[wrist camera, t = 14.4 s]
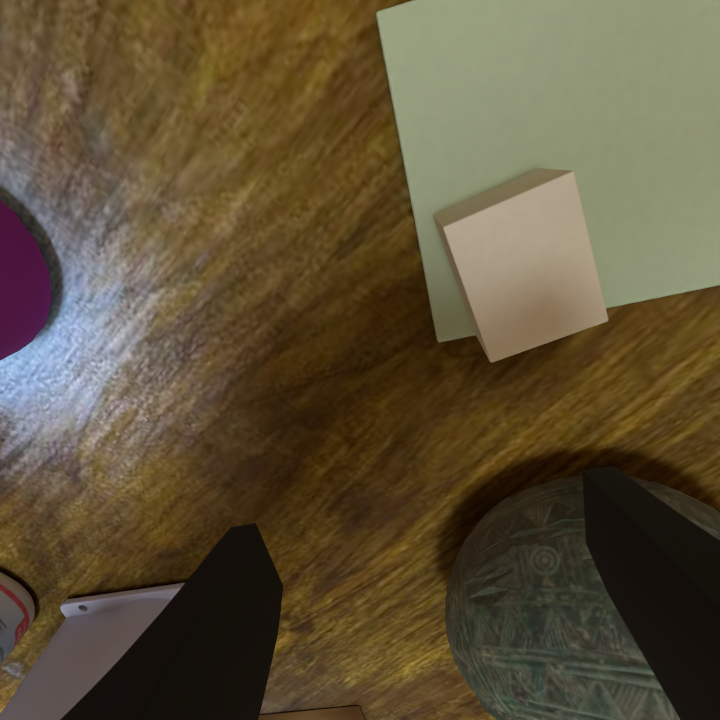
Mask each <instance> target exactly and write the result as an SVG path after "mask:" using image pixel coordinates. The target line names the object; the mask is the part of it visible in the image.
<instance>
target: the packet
mask: <svg viewBox="0 0 720 720" xmlns="http://www.w3.org/2000/svg"><path fill="white" fill-rule="evenodd" d="M433 219H434V221H435V224H436V227H437V230H438V233H439V235H440V238H441V241H442V244H443V246H444V249H445V252H446V255H447V258H448V260H449V263H450V266H451V269H452V271H453V274H454V277H455V280H456V283H457V285H458V288H459V291H460V294H461V296H462V299H463V302H464V305H465V308H466V310H467V313H468V316H469V319H470V321H471V324H472V327H473V330H474V332H475V334H476V336H477V338H478V340H479V342H480V344H481V346H482V348H483V350H484V351H485V353H486V355H487V357H488V359H489V361H490V362H491V363H493V362H495V361H498V360H501V359H504V358H507V357H509V356H512V355H515V354H518V353H521V352H523V351H526V350H529V349H532V348H535V347H537V346H540V345H543V344H546V343H548V342H551V341H554V340H557V339H560V338H562V337H565V336H568V335H571V334H574V333H576V332H579V331H582V330H585V329H587V328H590V327H593V326H596V325H599V324H601V323H604V322H607V321H608V316H607V312H606V307H605V303H604V299H603V294H602V290H601V286H600V281H599V277H598V273H597V268H596V264H595V260H594V256H593V251H592V247H591V243H590V238H589V234H588V230H587V225H586V221H585V217H584V212H583V208H582V204H581V199H580V195H579V191H578V186H577V182H576V178H575V173H574V171H569V170H557V169H544V168H539V169H537V170H535V171H533V172H530V173H528V174H526V175H523V176H521V177H519V178H517V179H514V180H512V181H510V182H508V183H505V184H503V185H501V186H498V187H496V188H494V189H492V190H489V191H487V192H485V193H482V194H480V195H478V196H476V197H473V198H471V199H469V200H467V201H464V202H462V203H460V204H457V205H455V206H453V207H451V208H448V209H446V210H444V211H442V212H439V213H437V214H435V215H433Z"/></svg>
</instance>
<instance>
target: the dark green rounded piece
mask: <svg viewBox="0 0 720 720" xmlns="http://www.w3.org/2000/svg"><path fill="white" fill-rule="evenodd" d="M628 477H630V476H628ZM630 478H631V479H632V480H634V481H635V482H636V483H638V484H639V485H641V486H642V487H643V488H645V489H646V490H648V491H649V492H650V493H652V494H653V495H655V496H656V497H657V498H659V499H660V500H662V501H663V502H664V503H666V504H667V505H669V506H670V507H672V508H673V509H674V510H676V511H677V512H679V513H680V514H682V515H683V516H684V517H686V518H687V519H689V520H690V521H692V522H693V523H695V524H696V525H698V526H699V527H701V528H702V529H704V530H705V531H707V532H708V533H710V534H711V535H713V536H714V537H716V538H717V539H719V540H720V512H719V511H717V510H716V509H715V508H713V507H711V506H709V505H707V504H705V503H703V502H701V501H699V500H697V499H695V498H693V497H690V496H688V495H687V494H685V493H683V492H681V491H679V490H676V489H673V488H670V487H667V486H665V485H663V484H660V483H656V482H651V481H647V480H643V479H639V478H636V477H630ZM445 623H446V629H447V635H448V641H449V644H450V648H451V651H452V655H453V658H454V660H455V662H456V664H457V666H458V668H459V670H460V672H461V674H462V675H463V677H464V679H465V680H466V682H467V683H468V684H469V686H470V687H471V689H472V690H473V691H474V692H475V694H476V696H477V697H478V699H479V701H480V702H481V704H482V706H483V707H484V709H485V711H487V712H488V713H489V714H491V715H492V716H493V717H495V718H496V719H498V720H680V718H679V717H678V715H677V713H676V711H675V709H674V708H673V706H672V704H671V703H670V701H669V699H668V697H667V696H666V694H665V692H664V690H663V689H662V687H661V685H660V683H659V682H658V680H657V678H656V676H655V675H654V673H653V671H652V669H651V668H650V666H649V664H648V663H647V661H646V659H645V657H644V656H643V654H642V652H641V650H640V649H639V647H638V645H637V643H636V642H635V640H634V638H633V636H632V635H631V633H630V631H629V629H628V628H627V626H626V624H625V622H624V621H623V619H622V617H621V615H620V614H619V612H618V610H617V608H616V607H615V605H614V603H613V601H612V600H611V598H610V596H609V594H608V592H607V590H606V588H605V586H604V583H603V581H602V579H601V577H600V575H599V572H598V570H597V568H596V566H595V563H594V561H593V558H592V556H591V554H590V551H589V549H588V547H587V544H586V534H585V516H584V497H583V478H582V475H581V476H571V477H565V478H559V479H556V480H553V481H549V482H546V483H542V484H538V485H534V486H532V487H530V488H527V489H524V490H522V491H520V492H518V493H516V494H514V495H512V496H510V497H508V498H505V499H503V500H502V501H500V502H499V503H498V504H497V505H495V506H494V507H493V508H492V509H490V510H489V511H488V512H487V513H486V514H485V515H484V516H483V518H482V519H481V520H480V521H479V523H478V524H477V525H476V527H475V528H474V529H473V530H472V532H471V533H470V534H469V535H468V536H467V538H466V539H465V540H464V543H463V545H462V548H461V550H460V551H459V553H458V554H457V556H456V559H455V562H454V566H453V569H452V572H451V576H450V580H449V584H448V588H447V595H446V609H445Z"/></svg>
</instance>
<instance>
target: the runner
mask: <svg viewBox="0 0 720 720" xmlns="http://www.w3.org/2000/svg"><path fill="white" fill-rule="evenodd" d="M376 19H377V25H378V30H379V35H380V41H381V46H382V51H383V57H384V62H385V67H386V73H387V78H388V83H389V89H390V94H391V99H392V105H393V110H394V115H395V121H396V126H397V131H398V137H399V142H400V147H401V153H402V158H403V163H404V169H405V174H406V179H407V185H408V190H409V195H410V201H411V206H412V211H413V217H414V222H415V227H416V233H417V238H418V243H419V248H420V254H421V259H422V264H423V270H424V275H425V280H426V286H427V291H428V296H429V302H430V307H431V312H432V318H433V323H434V328H435V334H436V339H437V342H438V343H440V342H445V341H449V340H454V339H459V338H464V337H469V336H474V335H476V334H475V332H474V330H473V327H472V324H471V321H470V319H469V316H468V313H467V310H466V308H465V305H464V302H463V299H462V296H461V294H460V291H459V288H458V285H457V283H456V280H455V277H454V274H453V271H452V269H451V266H450V263H449V260H448V258H447V255H446V252H445V249H444V246H443V244H442V241H441V238H440V235H439V233H438V230H437V227H436V224H435V221H434V219H433V215H435V214H437V213H439V212H442V211H444V210H446V209H448V208H451V207H453V206H455V205H457V204H460V203H462V202H464V201H467V200H469V199H471V198H473V197H476V196H478V195H480V194H482V193H485V192H487V191H489V190H492V189H494V188H496V187H498V186H501V185H503V184H505V183H508V182H510V181H512V180H514V179H517V178H519V177H521V176H523V175H526V174H528V173H530V172H533V171H535V170H537V169H539V168H544V169H557V170H569V171H574V173H575V178H576V182H577V186H578V191H579V195H580V199H581V204H582V208H583V212H584V217H585V221H586V225H587V230H588V234H589V238H590V243H591V247H592V251H593V256H594V260H595V264H596V268H597V273H598V277H599V281H600V286H601V290H602V294H603V299H604V303H605V307H606V308H610V307H615V306H620V305H625V304H630V303H635V302H640V301H644V300H649V299H654V298H659V297H664V296H669V295H674V294H679V293H683V292H688V291H693V290H698V289H703V288H708V287H713V286H718V285H720V0H412V1H409V2H406V3H403V4H400V5H396V6H393V7H390V8H387V9H384V10H380V11H377V12H376Z"/></svg>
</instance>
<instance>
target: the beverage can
mask: <svg viewBox="0 0 720 720" xmlns="http://www.w3.org/2000/svg"><path fill="white" fill-rule="evenodd" d="M51 301H52V296H51V287H50V277H49V271H48V268H47V266H46V263H45V261H44V259H43V256H42V254H41V251H40V249H39V247H38V244H37V242H36V240H35V239H34V237H33V236H32V235H31V233H30V232H29V231H28V229H27V228H26V227H25V225H24V224H23V223H22V221H21V220H20V219H19V217H18V216H17V215H16V213H15V212H14V211H13V210H11V209H10V208H9V207H8V206H7V205H6V204H4V203H3V202H2V201H1V200H0V360H2V359H4V358H6V357H7V356H9V355H11V354H13V353H15V352H17V351H19V350H20V349H22V348H23V347H25V346H26V345H27V344H29V343H30V342H31V341H32V340H33V339H34V338H35V337H36V335H37V334H38V333H39V332H40V330H41V329H42V328H43V326H44V325H45V324H46V321H47V317H48V313H49V309H50V305H51Z"/></svg>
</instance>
